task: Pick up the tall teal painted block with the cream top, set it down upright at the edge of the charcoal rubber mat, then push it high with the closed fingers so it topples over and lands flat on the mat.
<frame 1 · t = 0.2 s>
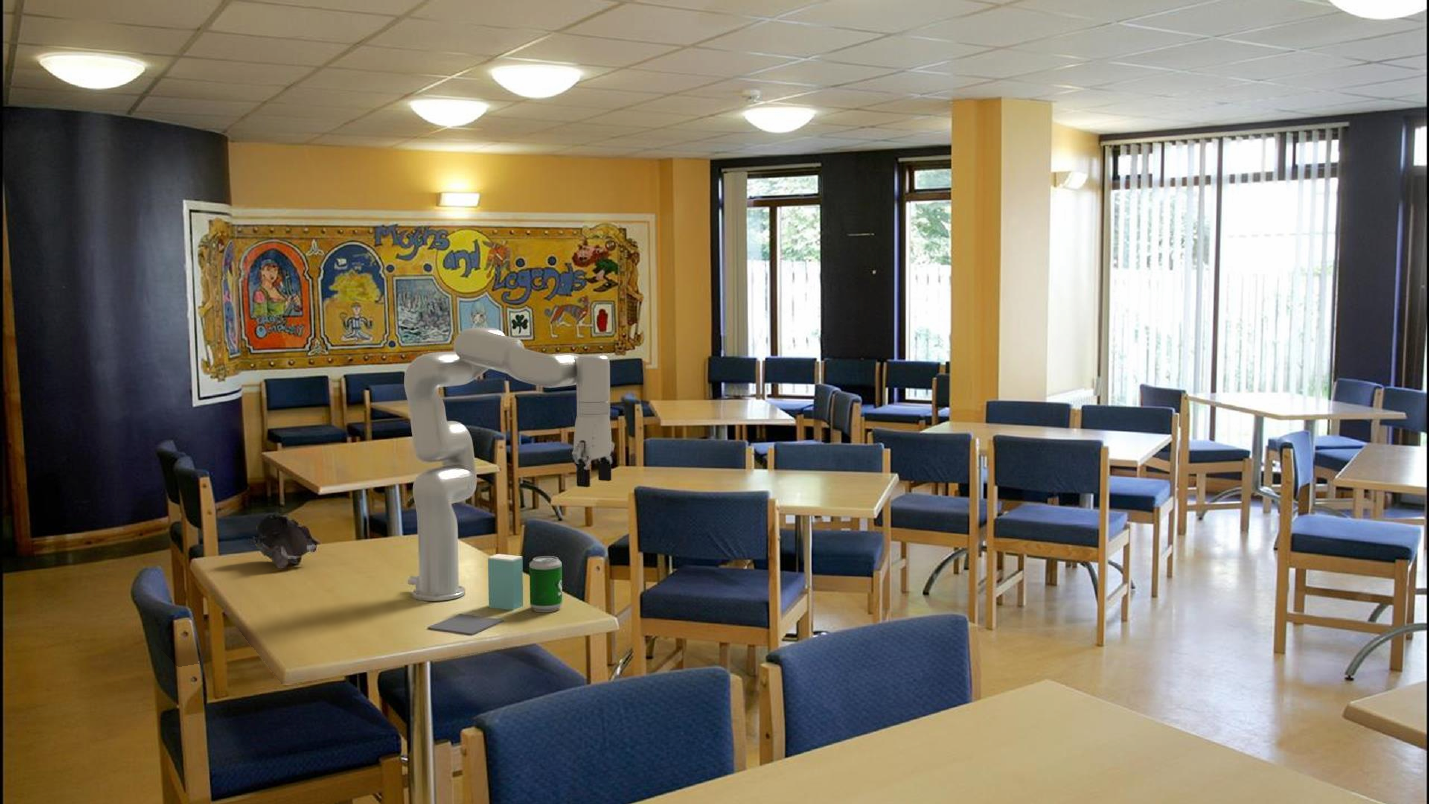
hand: (594, 483, 261), 31 cm above the table, fingers open, 9 cm apart
teal block: (505, 606, 271), on the table
soda can: (546, 609, 269), on the table
rubber mat: (466, 625, 255), on the table
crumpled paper: (281, 564, 315), on the table
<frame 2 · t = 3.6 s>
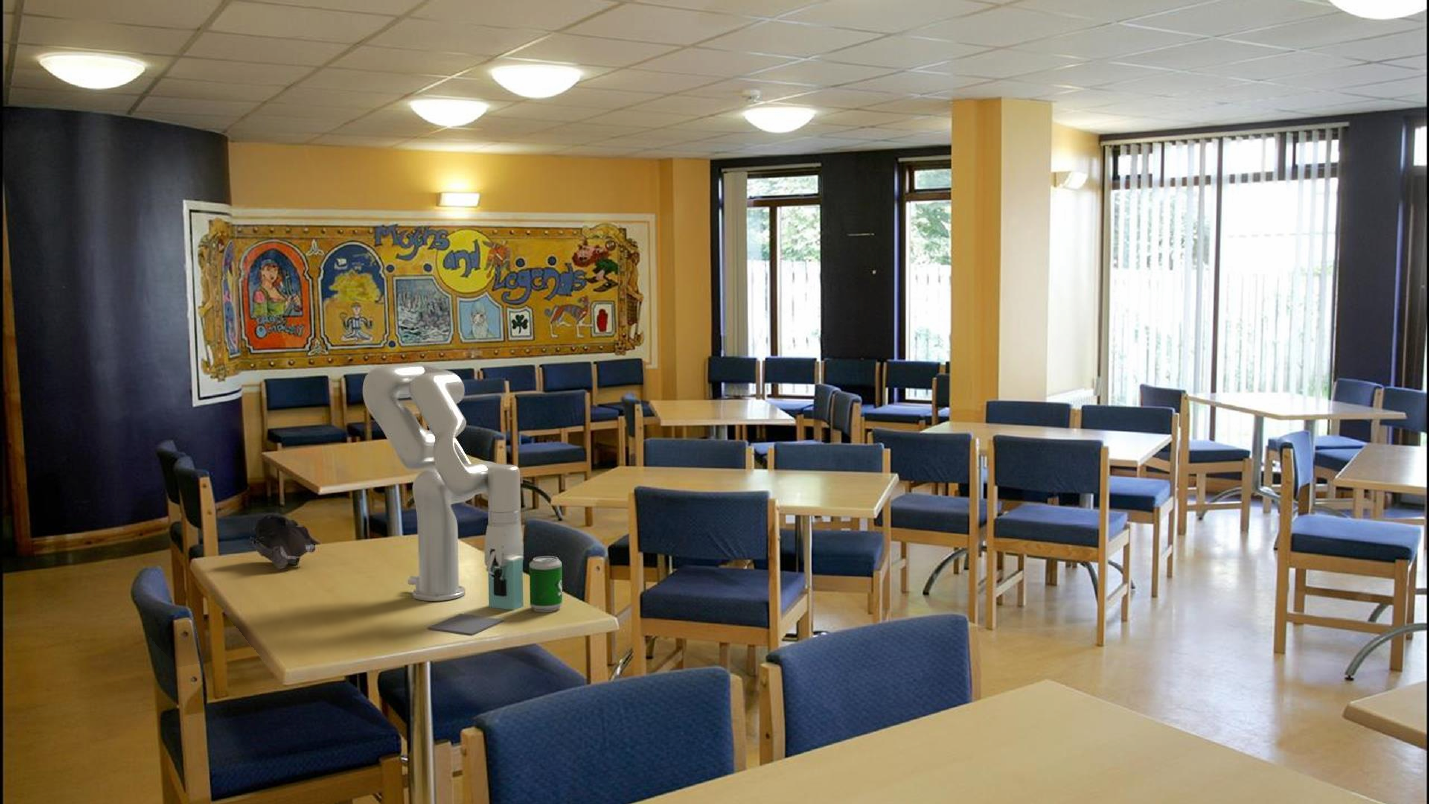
hand: (505, 592, 271), 3 cm above the table, fingers closed on teal block, 4 cm apart
teal block: (506, 606, 271), on the table, touching gripper
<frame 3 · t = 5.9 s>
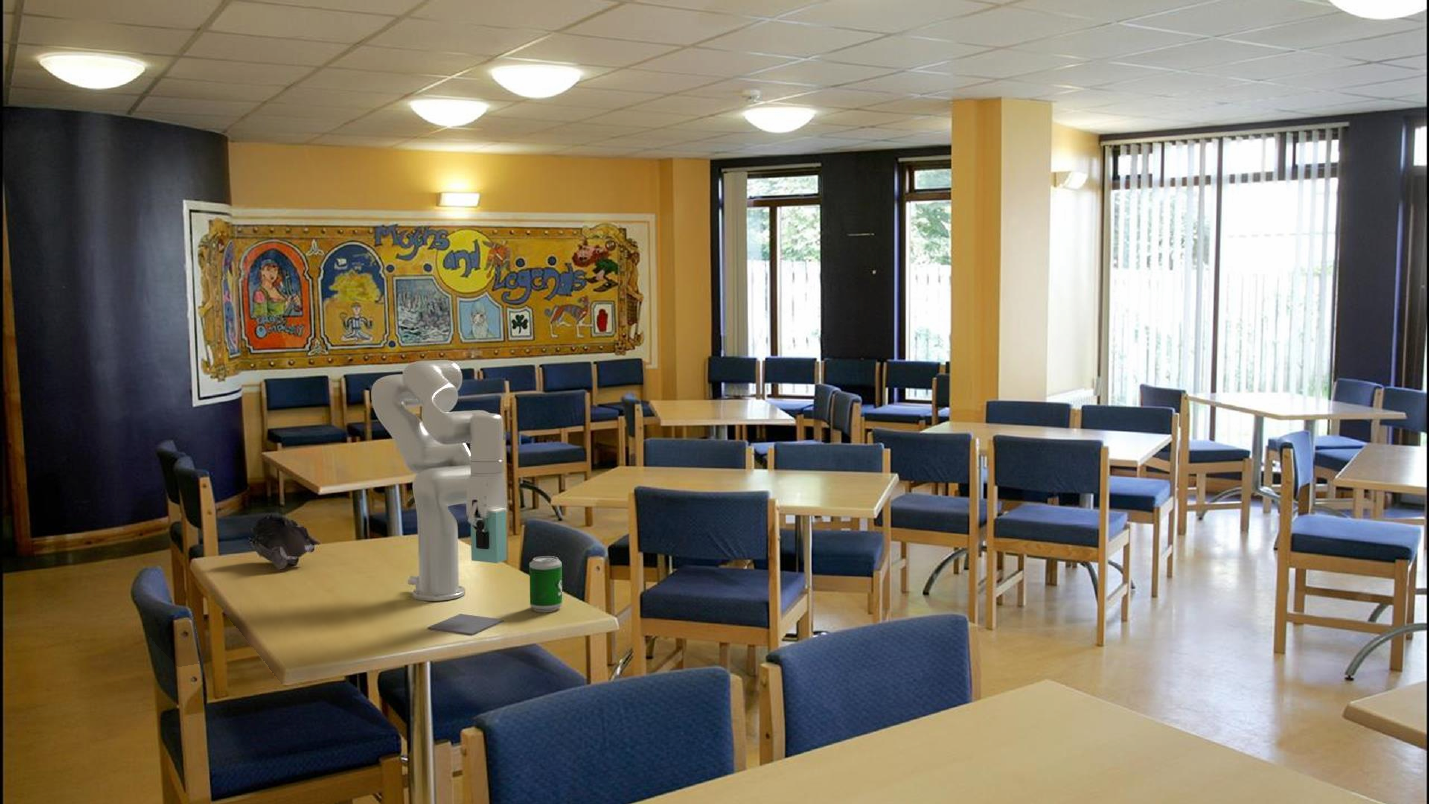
hand: (488, 545, 262), 16 cm above the table, fingers closed on teal block, 4 cm apart
teal block: (489, 560, 262), point 13 cm above the table, touching gripper
when the fingers open (4 cm above the table, at t = 8.3 s): teal block stays where it is, on the table.
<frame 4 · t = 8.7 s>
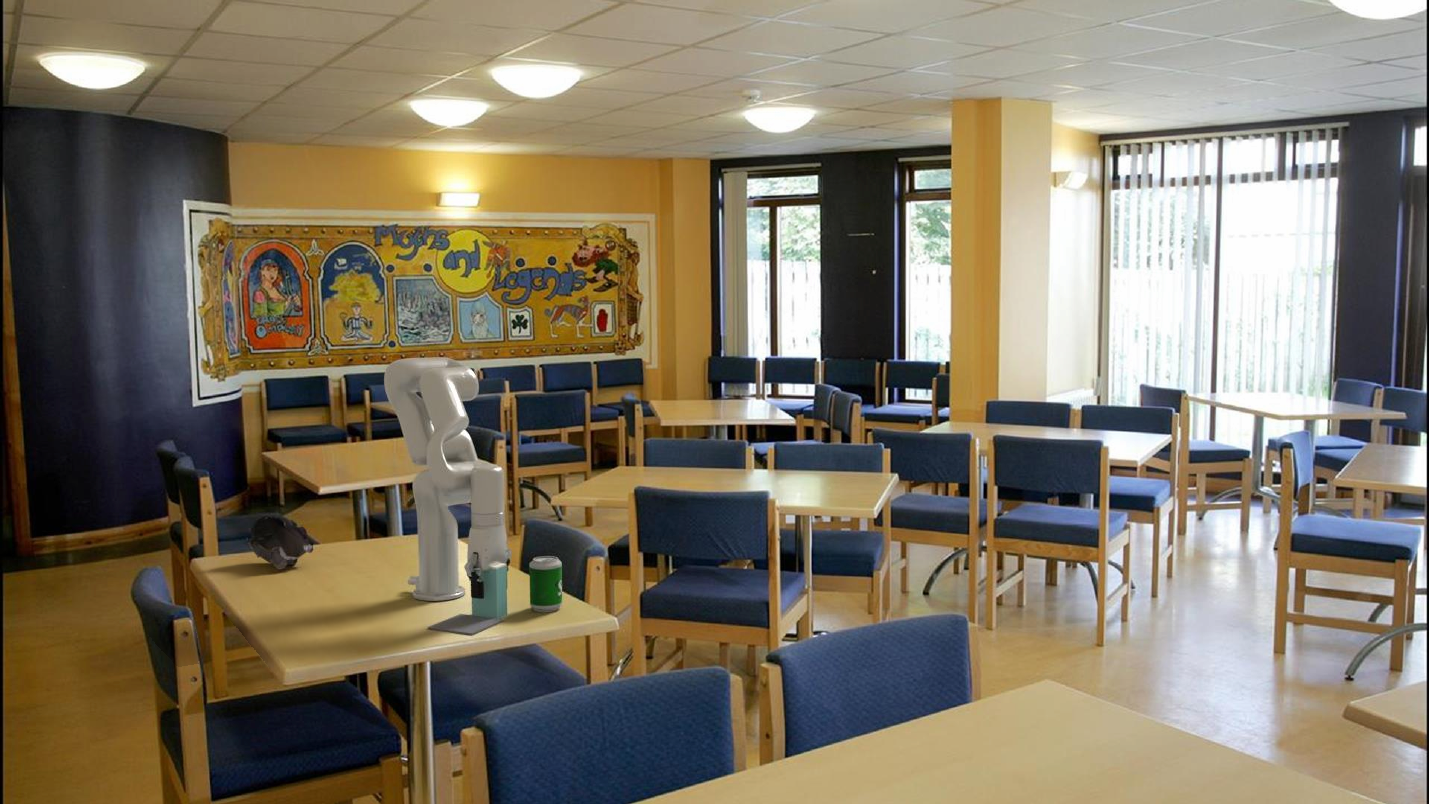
hand: (489, 593, 263), 5 cm above the table, fingers open, 8 cm apart
teal block: (489, 615, 263), on the table
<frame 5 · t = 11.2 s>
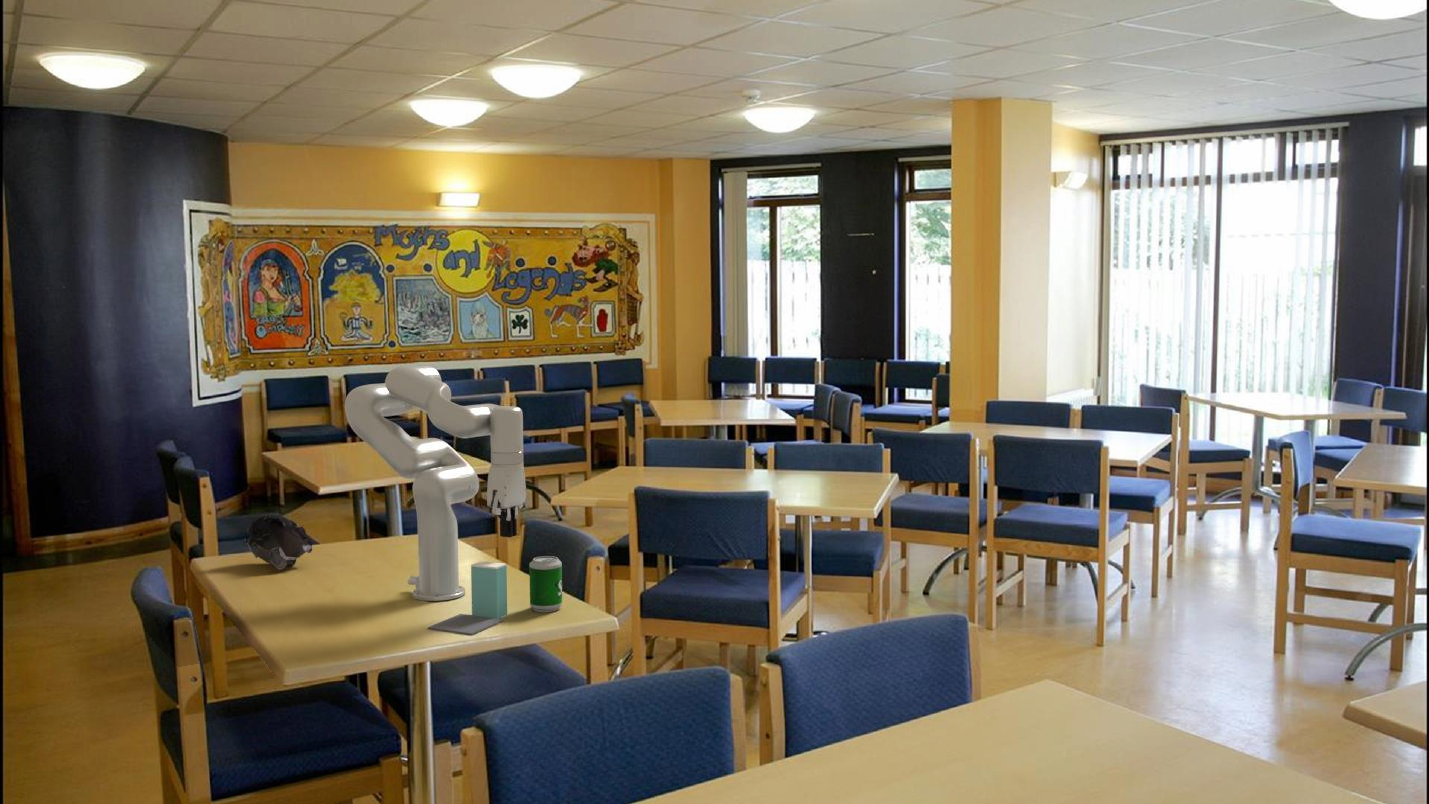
hand: (508, 535, 269), 17 cm above the table, fingers closed
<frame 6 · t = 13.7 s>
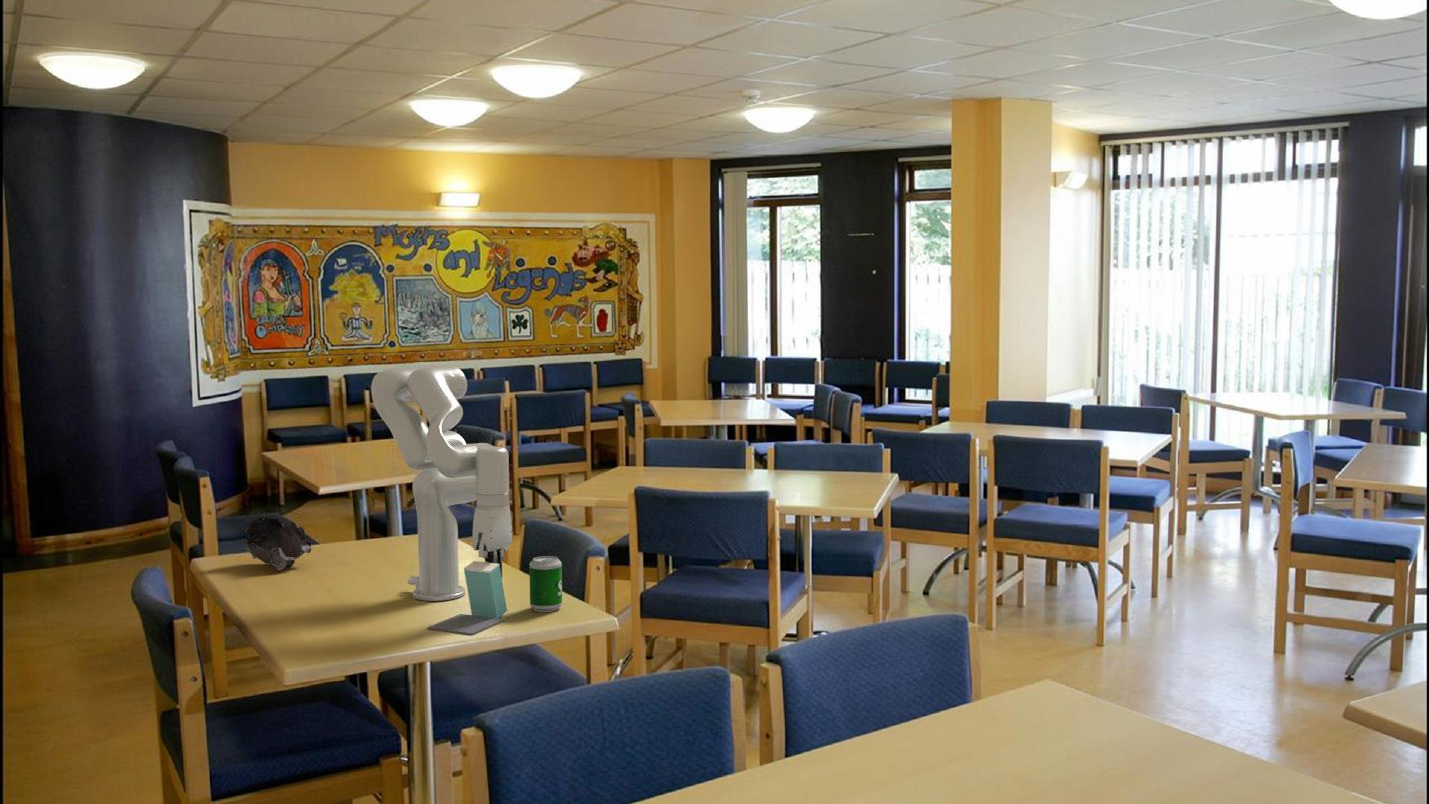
hand: (494, 578, 264), 8 cm above the table, fingers closed
teal block: (489, 613, 263), on the table, tilted 13°, touching gripper
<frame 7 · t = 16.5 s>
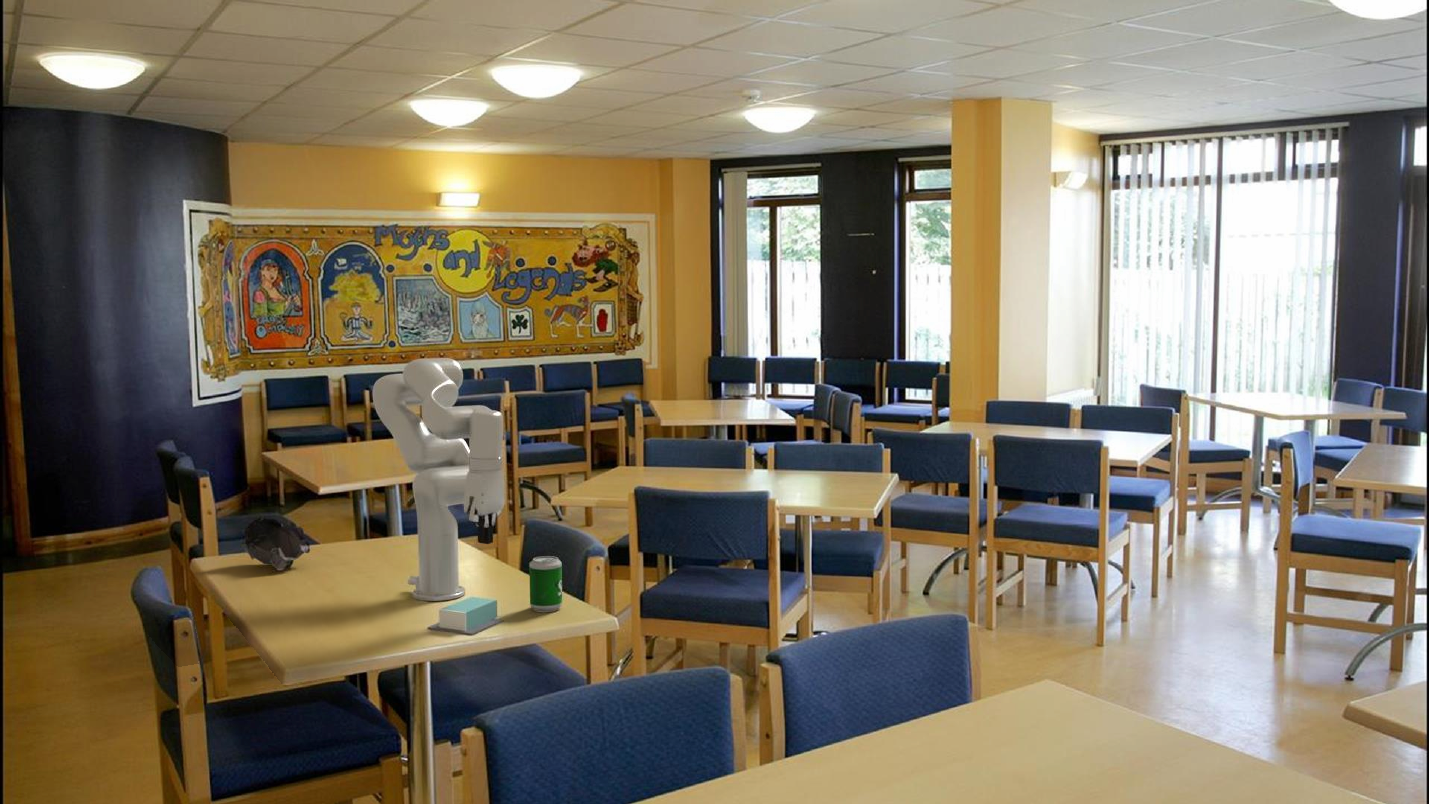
hand: (485, 542, 262), 17 cm above the table, fingers closed
teal block: (484, 606, 261), point 2 cm above the table, tilted 90°, touching rubber mat
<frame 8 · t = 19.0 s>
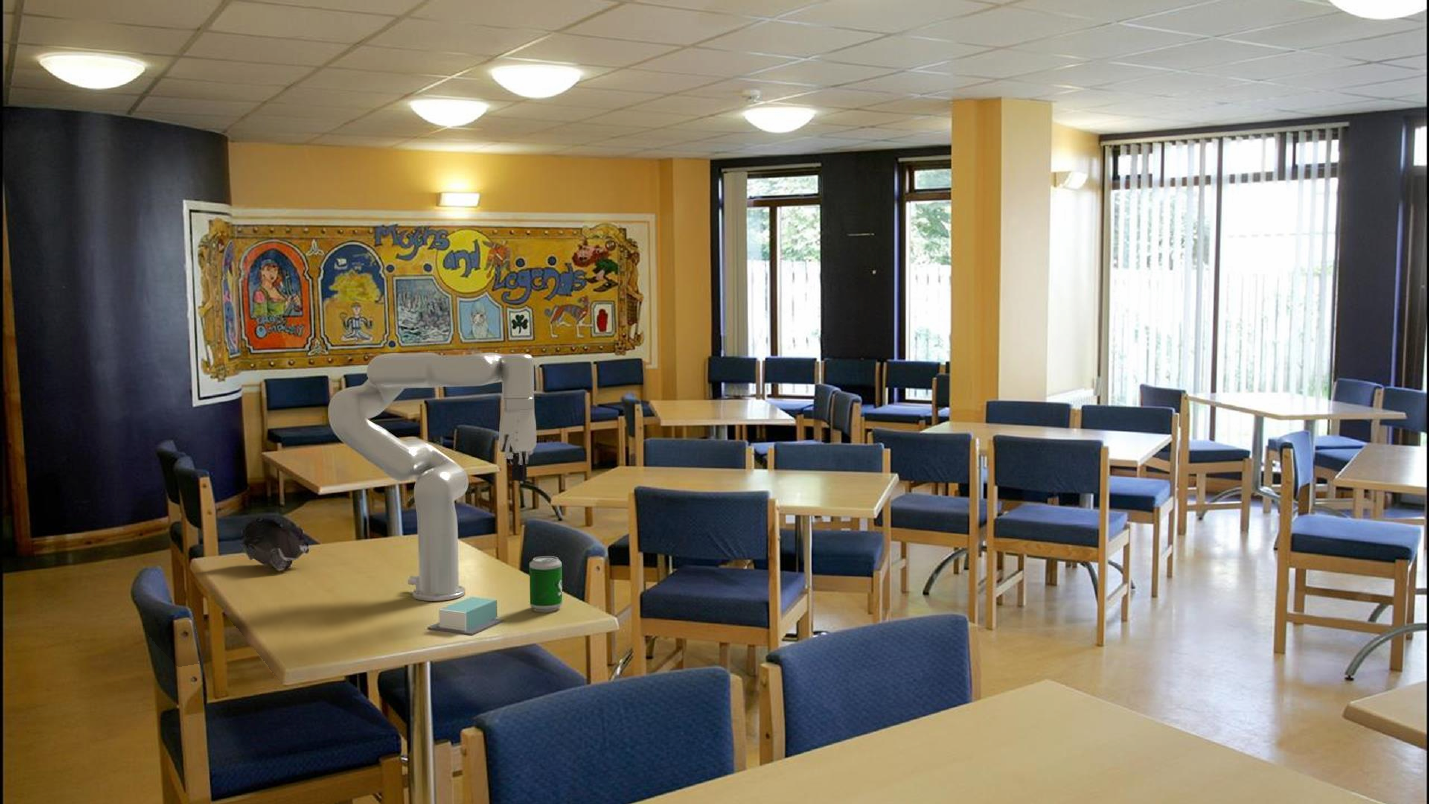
hand: (519, 480, 276), 29 cm above the table, fingers closed
at the end: teal block tilted 90°; teal block inside the target area on the rubber mat (3.6 cm from its centre), point 2.4 cm above the rubber mat's base; the gripper is holding nothing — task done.
